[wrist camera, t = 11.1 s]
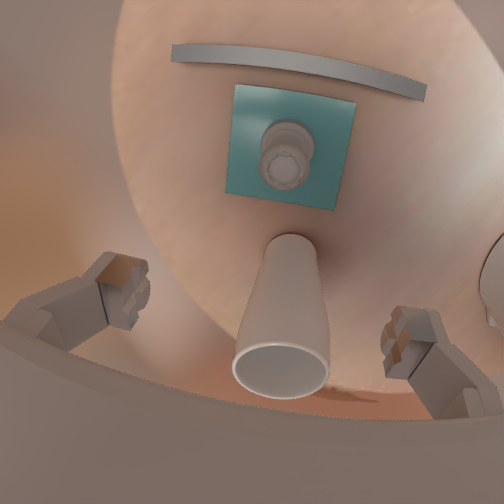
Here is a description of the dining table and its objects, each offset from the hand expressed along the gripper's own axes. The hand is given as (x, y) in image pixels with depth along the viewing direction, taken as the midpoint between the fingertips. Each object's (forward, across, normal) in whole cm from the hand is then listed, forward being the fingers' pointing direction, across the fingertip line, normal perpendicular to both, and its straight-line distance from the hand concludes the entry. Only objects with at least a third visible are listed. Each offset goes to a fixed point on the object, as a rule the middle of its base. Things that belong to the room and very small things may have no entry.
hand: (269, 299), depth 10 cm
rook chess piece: (+19, 0, +1) cm, 19 cm away
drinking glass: (+20, +2, -11) cm, 23 cm away
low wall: (+20, 0, +8) cm, 21 cm away
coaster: (+20, 0, 0) cm, 20 cm away
